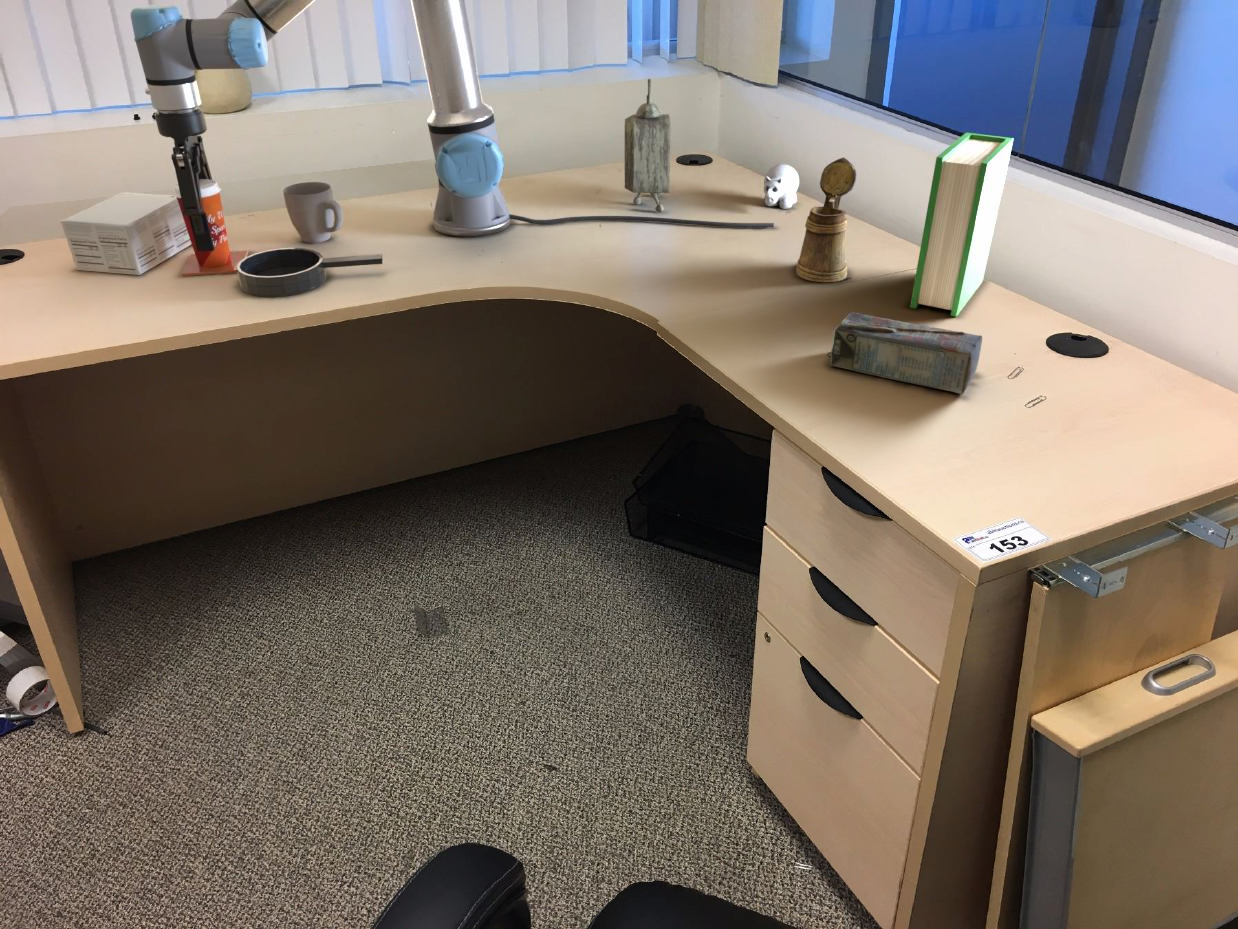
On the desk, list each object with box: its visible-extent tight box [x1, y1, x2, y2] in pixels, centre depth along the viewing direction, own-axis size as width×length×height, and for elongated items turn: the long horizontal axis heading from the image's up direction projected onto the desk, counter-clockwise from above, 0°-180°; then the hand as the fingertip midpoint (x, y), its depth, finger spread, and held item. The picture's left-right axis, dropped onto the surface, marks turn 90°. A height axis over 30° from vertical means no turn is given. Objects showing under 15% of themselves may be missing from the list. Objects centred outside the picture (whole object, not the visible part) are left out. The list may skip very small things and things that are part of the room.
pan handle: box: [323, 253, 384, 269], centre depth 164 cm, size 10×2×1 cm, turn 101°
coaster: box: [180, 250, 249, 277], centre depth 170 cm, size 10×10×1 cm
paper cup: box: [173, 179, 231, 267], centre depth 166 cm, size 8×8×14 cm
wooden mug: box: [795, 157, 857, 283], centre depth 163 cm, size 9×14×18 cm, turn 157°
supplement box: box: [60, 191, 192, 276], centre depth 171 cm, size 17×13×9 cm
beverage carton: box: [830, 311, 983, 395], centre depth 132 cm, size 8×19×7 cm, turn 61°
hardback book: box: [909, 132, 1015, 318], centre depth 151 cm, size 18×7×24 cm, turn 149°
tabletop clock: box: [624, 78, 671, 213], centre depth 193 cm, size 14×9×25 cm, turn 179°
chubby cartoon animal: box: [763, 163, 800, 210], centre depth 195 cm, size 7×12×8 cm, turn 152°
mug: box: [282, 181, 344, 244], centre depth 179 cm, size 12×9×10 cm
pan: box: [236, 247, 327, 298], centre depth 162 cm, size 14×14×4 cm
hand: (210, 242), depth 168 cm, fingers closed on paper cup, 8 cm apart
